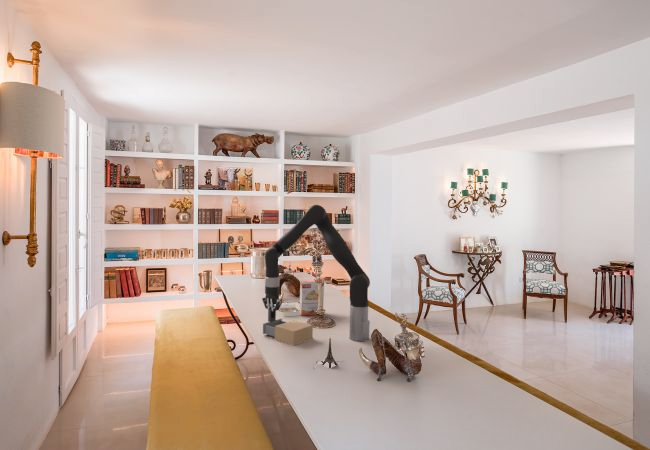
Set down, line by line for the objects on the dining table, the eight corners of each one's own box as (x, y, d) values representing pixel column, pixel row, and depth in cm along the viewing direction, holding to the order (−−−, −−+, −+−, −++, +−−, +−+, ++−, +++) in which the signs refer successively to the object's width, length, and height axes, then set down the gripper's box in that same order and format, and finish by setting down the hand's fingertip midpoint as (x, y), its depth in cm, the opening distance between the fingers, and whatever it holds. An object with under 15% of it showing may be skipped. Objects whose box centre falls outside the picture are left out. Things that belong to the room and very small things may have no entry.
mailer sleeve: (312, 338, 217) (312, 325, 216) (293, 345, 206) (293, 331, 206) (294, 333, 225) (294, 320, 225) (274, 339, 214) (275, 325, 214)
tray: (298, 333, 223) (298, 311, 222) (280, 339, 212) (280, 316, 212) (279, 327, 231) (279, 307, 231) (261, 333, 221) (261, 311, 220)
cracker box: (301, 316, 258) (301, 282, 257) (299, 313, 264) (299, 280, 263) (323, 315, 262) (324, 281, 261) (321, 312, 268) (321, 279, 267)
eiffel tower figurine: (345, 361, 189) (346, 331, 188) (348, 370, 179) (349, 339, 178) (311, 361, 188) (312, 331, 187) (313, 370, 178) (313, 339, 177)
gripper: (286, 286, 223) (286, 318, 224) (268, 282, 231) (268, 313, 232) (276, 288, 217) (275, 321, 218) (258, 284, 226) (257, 316, 227)
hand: (271, 317), depth 225 cm, fingers closed
